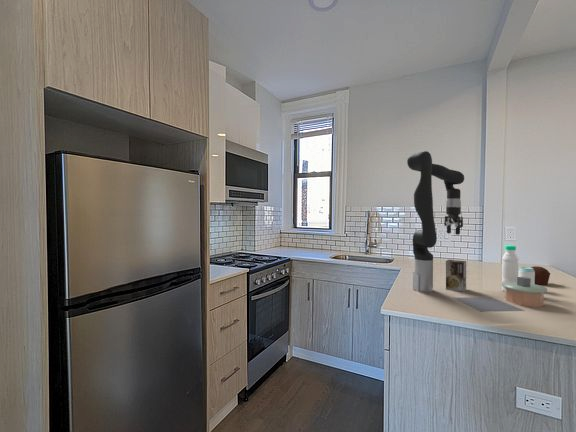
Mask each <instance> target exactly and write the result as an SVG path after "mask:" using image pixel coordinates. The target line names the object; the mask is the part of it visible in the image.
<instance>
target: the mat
mask: <svg viewBox="0 0 576 432" xmlns="http://www.w3.org/2000/svg"><path fill="white" fill-rule="evenodd" d="M453 299H454V300H456V301H458V302H461V303H462V304H464V305H466V306H469V307H470V308H472V309H475V310H477V311H479V312H524V311H526V310H524V309H523V308H520V307H516V306H514V305H512V304H509V303H507V302H504V301H502V300H499V299H497V298H495V297H492V296H480V297H479V296H474V297H473V296H471V297H470V296H469V297H468V296H467V297H465V296H464V297H453Z"/></svg>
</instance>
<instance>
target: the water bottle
mask: <svg viewBox="0 0 576 432" xmlns="http://www.w3.org/2000/svg"><path fill="white" fill-rule="evenodd" d="M504 250H505V252H504V254H503V256H502V258H501V260H502V261H501V262H502V265H501V275H502V278H501V284H502V283H503V282H517V277H519V257H518V256H517V254H516V250H517V246H515V245H512V244H511V245H508V244H506V245H505V246H504ZM501 291H503V292H505V288H504V287H503V286H502V285H501Z"/></svg>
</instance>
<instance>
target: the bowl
mask: <svg viewBox="0 0 576 432" xmlns="http://www.w3.org/2000/svg"><path fill="white" fill-rule="evenodd" d="M544 298H545V293H528V292H521V291H515V290H511V289H507V288H505V291H504V299H505V301H506V302H509V303H511V304H514V305H519V306H522V307H523V306H526V307H532V308H533V307H534V308H535V307H536V308H537V307H539V308H540V307H544V306H545V305H544V304H545V302H544V301H545V299H544Z"/></svg>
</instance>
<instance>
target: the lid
mask: <svg viewBox="0 0 576 432" xmlns="http://www.w3.org/2000/svg"><path fill="white" fill-rule="evenodd" d="M530 282H531V278H527V277H519V276H518V277H517V282H503V283H502V282H501V287H502V286H503V287H504V288H507V289H511V290H515V291H521V292H528V293H544V294H545V293H547V292H548V288H547V287H546V286H544V285H536V284H530Z"/></svg>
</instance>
